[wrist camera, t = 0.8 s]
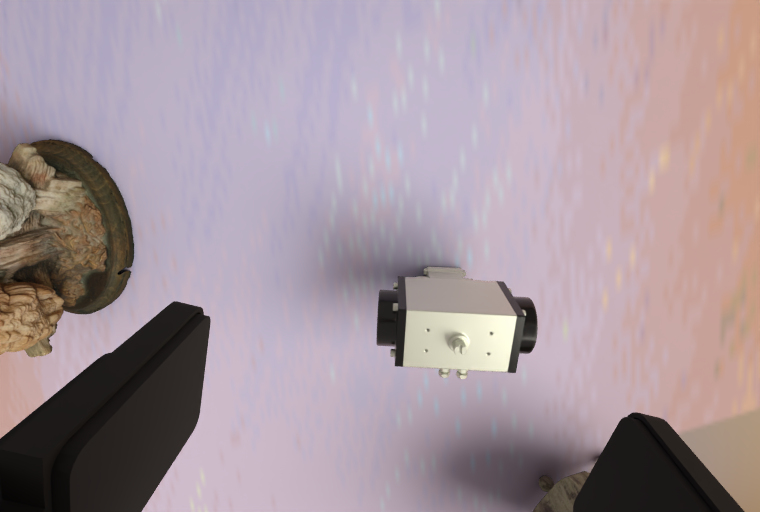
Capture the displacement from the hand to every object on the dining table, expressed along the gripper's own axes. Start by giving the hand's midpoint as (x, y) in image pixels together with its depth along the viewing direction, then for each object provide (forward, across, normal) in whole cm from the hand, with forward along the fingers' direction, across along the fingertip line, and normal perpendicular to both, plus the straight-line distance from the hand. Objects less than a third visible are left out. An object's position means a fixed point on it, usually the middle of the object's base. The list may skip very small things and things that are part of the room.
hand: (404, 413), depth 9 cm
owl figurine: (+29, +29, +12) cm, 43 cm away
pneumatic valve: (+29, -6, +8) cm, 31 cm away
